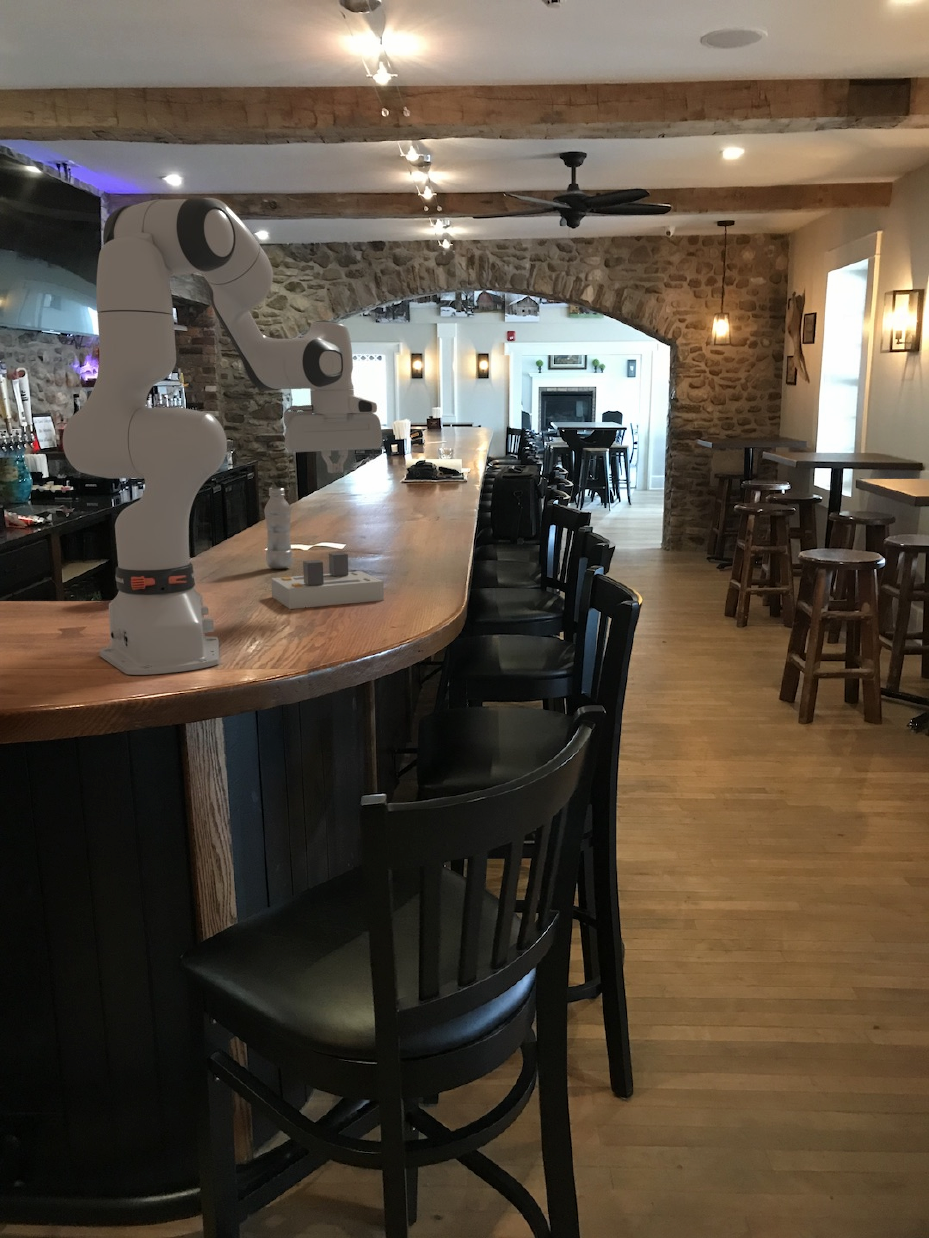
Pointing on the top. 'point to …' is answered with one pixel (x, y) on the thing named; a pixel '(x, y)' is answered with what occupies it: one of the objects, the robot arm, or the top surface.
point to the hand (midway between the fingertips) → (335, 472)
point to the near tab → (313, 572)
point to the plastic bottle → (278, 530)
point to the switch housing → (327, 590)
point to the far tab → (338, 564)
